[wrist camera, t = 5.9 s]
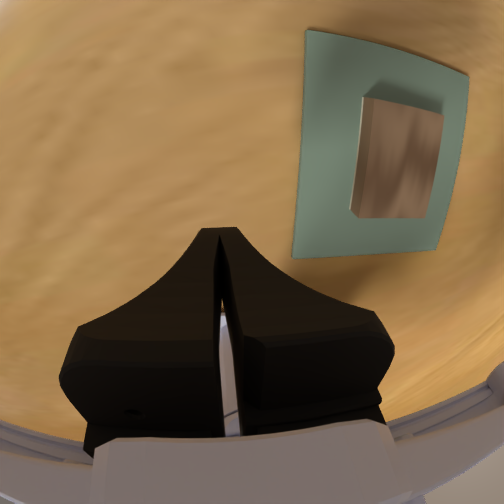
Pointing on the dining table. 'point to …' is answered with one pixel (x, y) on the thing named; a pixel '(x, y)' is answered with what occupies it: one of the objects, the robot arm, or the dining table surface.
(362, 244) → the mat
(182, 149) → the dining table surface
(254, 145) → the dining table surface
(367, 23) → the dining table surface
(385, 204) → the tile
